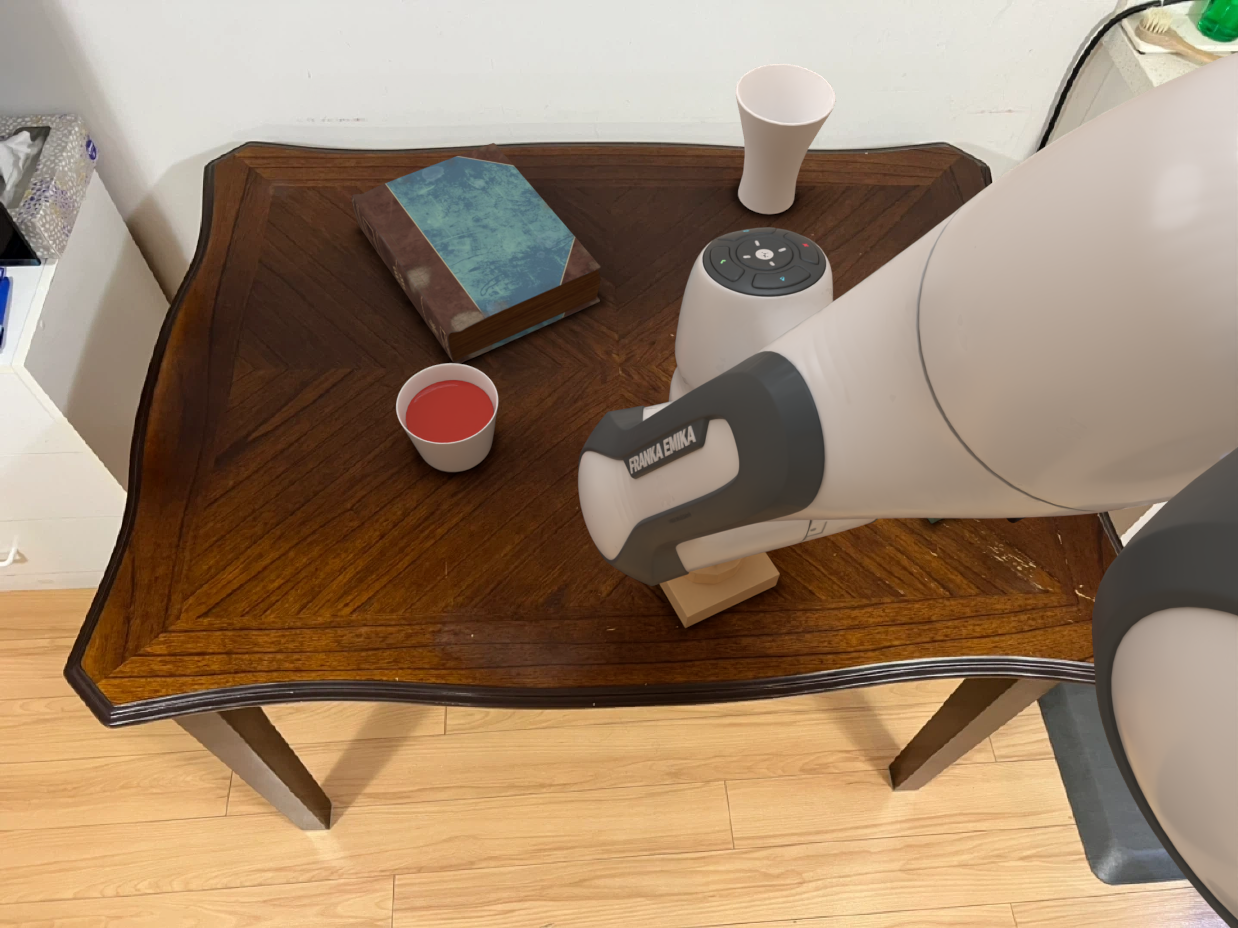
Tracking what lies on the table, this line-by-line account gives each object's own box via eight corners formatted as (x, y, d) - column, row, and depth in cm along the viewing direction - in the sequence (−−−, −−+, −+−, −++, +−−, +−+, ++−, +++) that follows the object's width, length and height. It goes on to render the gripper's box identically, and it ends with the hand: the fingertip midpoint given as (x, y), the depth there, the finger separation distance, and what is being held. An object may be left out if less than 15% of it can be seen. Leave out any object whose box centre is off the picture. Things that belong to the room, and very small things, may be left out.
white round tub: (462, 390, 93) (455, 347, 88) (523, 444, 90) (519, 403, 84) (388, 441, 90) (375, 400, 84) (448, 500, 86) (438, 461, 81)
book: (359, 231, 105) (349, 195, 101) (499, 177, 111) (495, 141, 107) (453, 367, 95) (446, 334, 91) (602, 300, 100) (603, 266, 96)
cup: (715, 166, 113) (729, 63, 101) (802, 165, 113) (826, 62, 102) (726, 228, 107) (742, 125, 96) (818, 225, 107) (845, 123, 96)
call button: (776, 585, 82) (783, 563, 79) (685, 628, 80) (689, 607, 76) (717, 497, 87) (722, 473, 84) (630, 535, 85) (632, 512, 81)
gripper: (617, 512, 62) (613, 603, 74) (873, 403, 68) (832, 504, 79) (575, 441, 65) (577, 539, 77) (824, 342, 71) (791, 447, 82)
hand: (708, 520), depth 78 cm, fingers closed
